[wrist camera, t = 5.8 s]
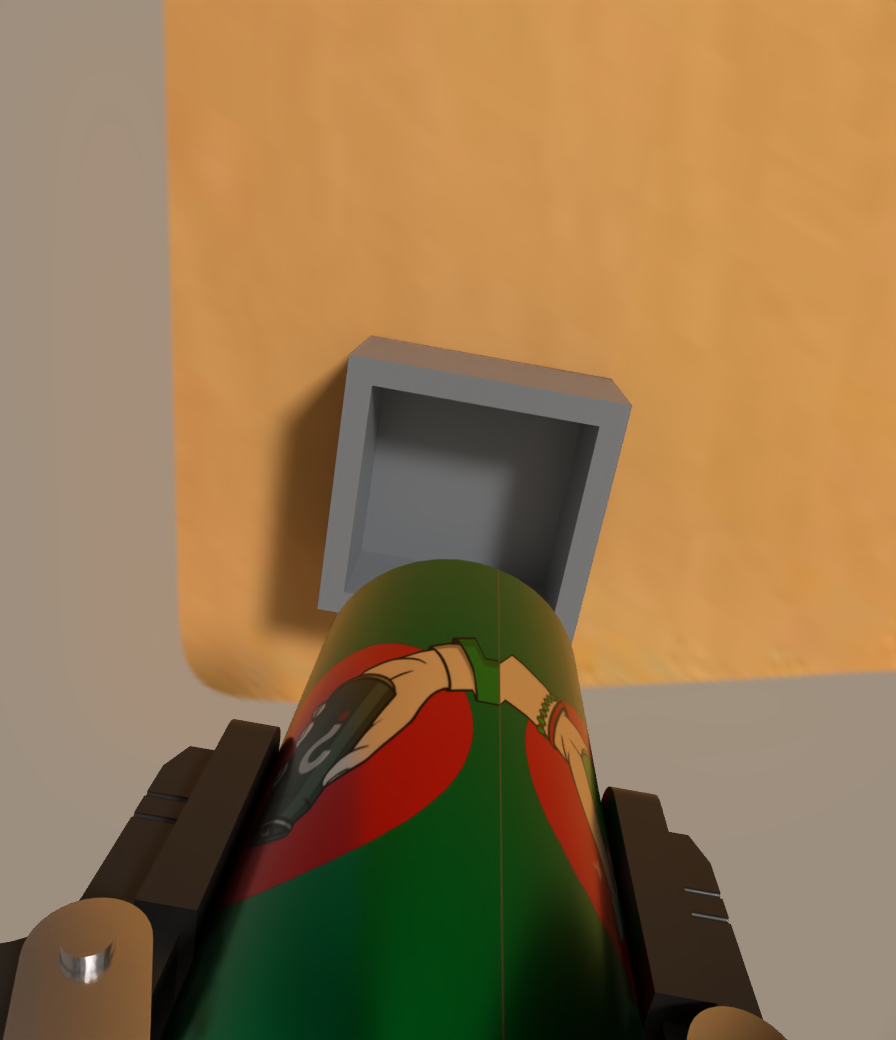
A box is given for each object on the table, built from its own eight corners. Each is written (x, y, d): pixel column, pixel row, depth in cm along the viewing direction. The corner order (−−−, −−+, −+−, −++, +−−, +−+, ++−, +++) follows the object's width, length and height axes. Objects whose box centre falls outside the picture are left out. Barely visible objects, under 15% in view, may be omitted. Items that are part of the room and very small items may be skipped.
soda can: (295, 711, 17) (-86, 1635, 6) (379, 508, 15) (65, 1259, 4) (511, 793, 18) (540, 1801, 6) (615, 604, 16) (908, 1522, 5)
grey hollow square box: (371, 335, 28) (348, 354, 24) (611, 379, 28) (632, 405, 24) (341, 557, 31) (317, 609, 27) (559, 596, 31) (569, 654, 27)
